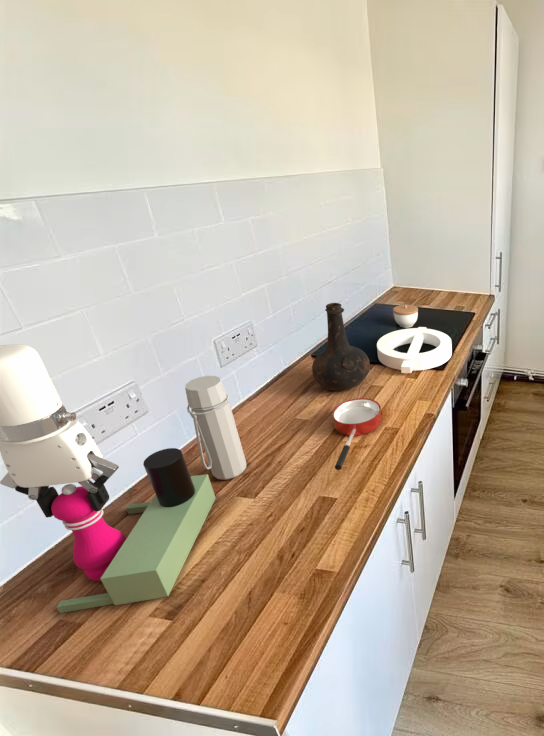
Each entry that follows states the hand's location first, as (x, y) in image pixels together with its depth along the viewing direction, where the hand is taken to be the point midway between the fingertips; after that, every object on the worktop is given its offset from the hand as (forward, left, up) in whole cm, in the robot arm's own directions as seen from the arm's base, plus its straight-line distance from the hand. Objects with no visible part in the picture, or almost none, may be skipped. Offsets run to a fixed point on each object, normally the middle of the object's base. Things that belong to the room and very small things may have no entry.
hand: (78, 507), depth 75 cm
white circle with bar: (+61, +83, -15) cm, 104 cm away
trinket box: (+58, +112, -15) cm, 127 cm away
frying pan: (+42, +30, -15) cm, 54 cm away
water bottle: (+13, +23, -15) cm, 30 cm away
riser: (+5, +3, -15) cm, 16 cm away
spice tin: (+10, +9, -8) cm, 15 cm away
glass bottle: (+36, +63, -15) cm, 74 cm away
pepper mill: (0, 0, -15) cm, 15 cm away
